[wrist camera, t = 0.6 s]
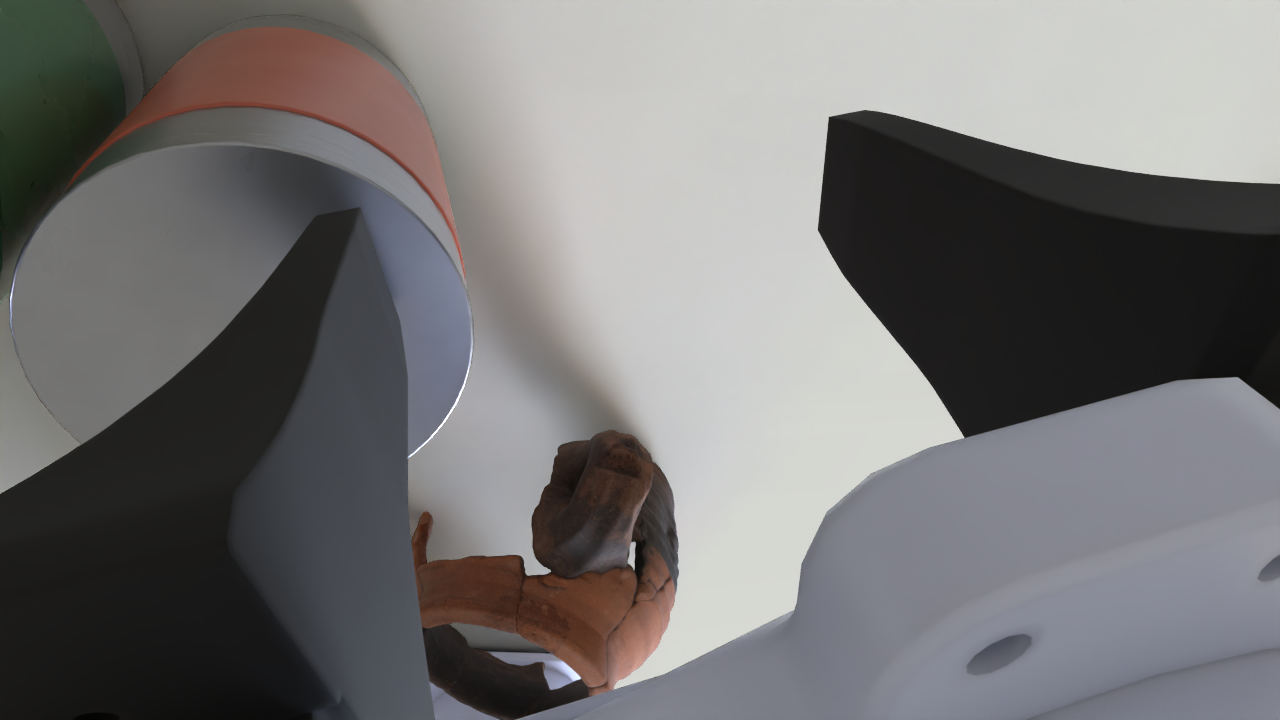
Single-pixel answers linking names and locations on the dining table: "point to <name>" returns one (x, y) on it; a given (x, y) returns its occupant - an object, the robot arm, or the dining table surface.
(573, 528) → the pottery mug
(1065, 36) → the dining table surface
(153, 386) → the tin cans
